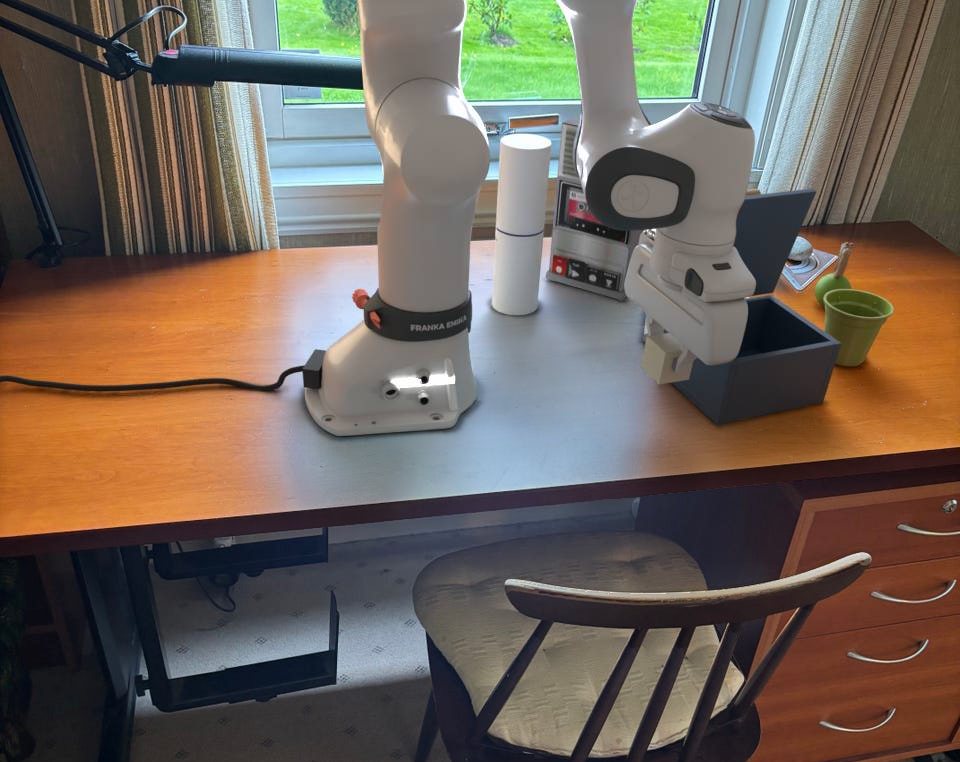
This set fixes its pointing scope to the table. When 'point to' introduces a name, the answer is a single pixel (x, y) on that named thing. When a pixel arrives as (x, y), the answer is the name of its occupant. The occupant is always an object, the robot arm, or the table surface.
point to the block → (662, 358)
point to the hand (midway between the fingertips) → (667, 361)
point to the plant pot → (854, 322)
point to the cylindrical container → (520, 222)
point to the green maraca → (835, 275)
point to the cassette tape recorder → (585, 234)
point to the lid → (769, 232)
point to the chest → (766, 367)
